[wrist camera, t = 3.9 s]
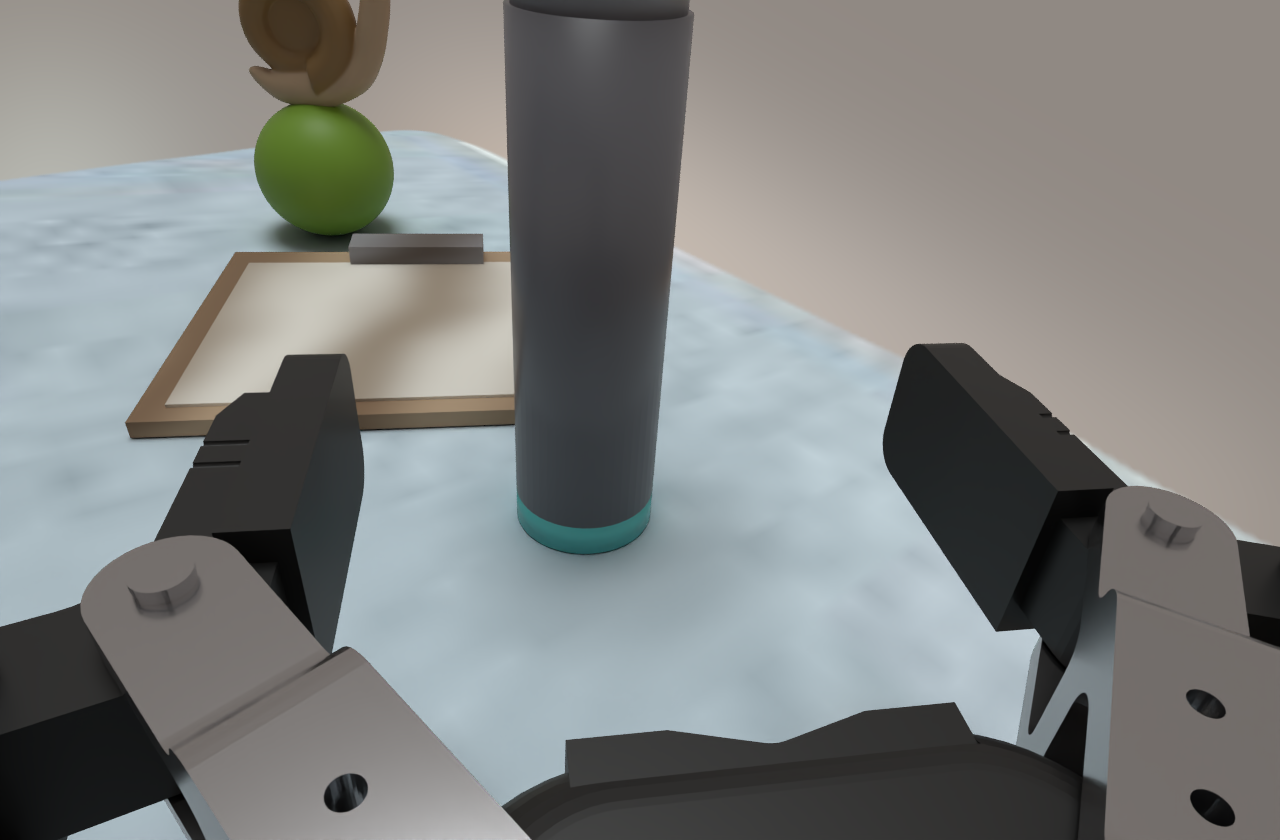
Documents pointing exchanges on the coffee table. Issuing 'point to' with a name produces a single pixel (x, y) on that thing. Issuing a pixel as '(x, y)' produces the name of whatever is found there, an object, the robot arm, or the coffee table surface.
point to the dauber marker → (591, 255)
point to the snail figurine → (320, 111)
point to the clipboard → (350, 334)
